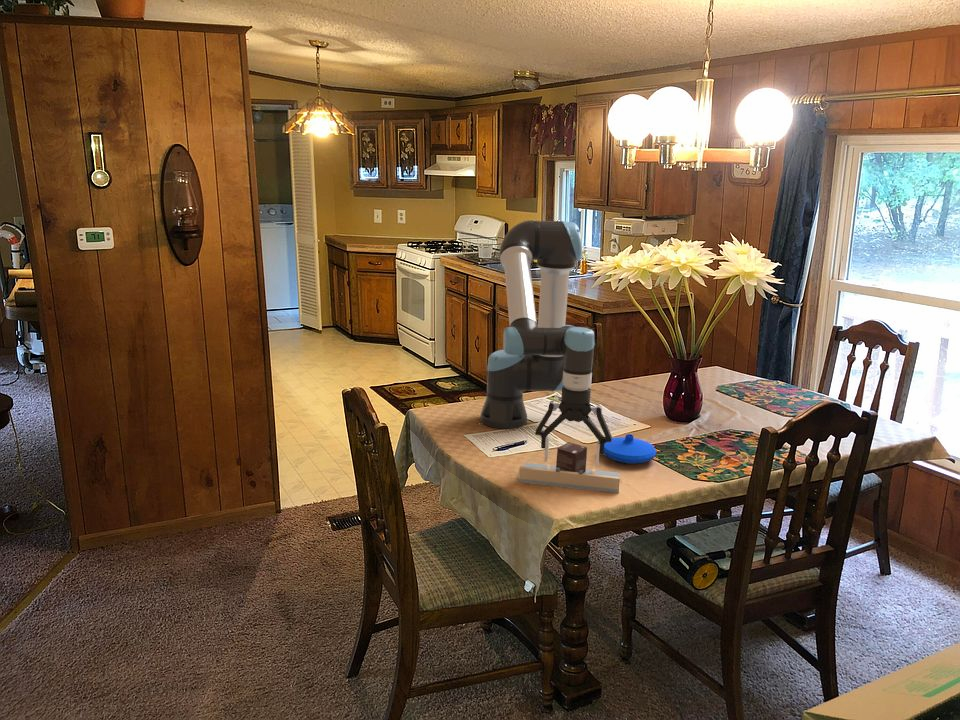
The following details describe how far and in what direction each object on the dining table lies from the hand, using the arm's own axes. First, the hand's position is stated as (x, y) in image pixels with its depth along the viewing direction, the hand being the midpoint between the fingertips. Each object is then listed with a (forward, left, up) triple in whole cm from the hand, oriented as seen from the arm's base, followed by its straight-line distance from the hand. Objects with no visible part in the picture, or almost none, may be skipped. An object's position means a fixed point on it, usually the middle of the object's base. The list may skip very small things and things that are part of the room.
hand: (571, 462), depth 202 cm
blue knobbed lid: (-18, +15, -4) cm, 23 cm away
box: (0, 0, -3) cm, 3 cm away
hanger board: (+2, 0, -4) cm, 4 cm away
